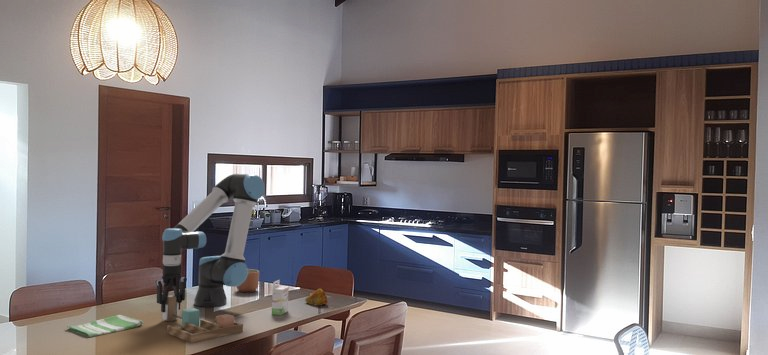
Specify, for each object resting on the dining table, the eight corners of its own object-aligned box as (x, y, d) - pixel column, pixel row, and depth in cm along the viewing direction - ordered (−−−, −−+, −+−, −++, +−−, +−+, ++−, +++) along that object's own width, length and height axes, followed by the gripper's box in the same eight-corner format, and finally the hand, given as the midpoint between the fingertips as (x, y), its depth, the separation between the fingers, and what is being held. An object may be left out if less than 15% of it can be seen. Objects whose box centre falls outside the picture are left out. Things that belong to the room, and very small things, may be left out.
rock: (308, 313, 289) (301, 296, 294) (320, 313, 295) (312, 296, 300) (322, 300, 285) (314, 283, 290) (334, 300, 291) (326, 284, 296)
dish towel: (65, 330, 233) (65, 323, 233) (121, 319, 252) (121, 313, 252) (88, 339, 223) (89, 331, 223) (144, 327, 242) (145, 320, 242)
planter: (235, 289, 322) (235, 269, 322) (258, 288, 325) (258, 269, 325) (235, 293, 310) (235, 273, 310) (259, 293, 313) (259, 272, 313)
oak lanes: (166, 333, 232) (167, 325, 232) (217, 323, 250) (217, 316, 249) (191, 342, 220) (191, 334, 220) (242, 331, 238) (242, 324, 238)
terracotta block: (216, 330, 238) (216, 315, 238) (226, 328, 242) (227, 314, 242) (223, 333, 235) (223, 318, 235) (234, 330, 239) (234, 316, 239)
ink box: (281, 315, 267) (282, 282, 267) (271, 314, 268) (272, 282, 268) (288, 311, 275) (289, 279, 275) (278, 310, 276) (279, 279, 276)
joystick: (162, 319, 252) (163, 296, 252) (173, 317, 256) (173, 295, 256) (188, 329, 239) (188, 304, 238) (199, 327, 242) (199, 302, 242)
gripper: (157, 267, 243) (155, 323, 243) (194, 263, 257) (193, 316, 257) (148, 265, 248) (146, 320, 248) (185, 261, 261) (184, 313, 262)
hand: (170, 318), depth 253 cm, fingers closed on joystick, 4 cm apart
